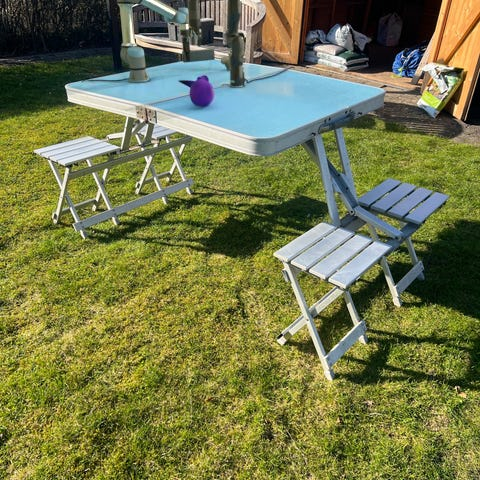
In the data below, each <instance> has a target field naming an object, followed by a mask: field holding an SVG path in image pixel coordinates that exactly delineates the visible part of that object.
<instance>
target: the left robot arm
mask: <svg viewBox="0 0 480 480" xmlns="http://www.w3.org/2000/svg"><path fill="white" fill-rule="evenodd" d="M116 3H117V5H118V7H119V12H120V13H119V14H120V23H121V25H120V26H121V33H122V43H121V45H120V46H121V50H120V59H121V60H122V61H123V62H124V63H125V64H127V65H128V66H129V76H128V78H127V77H126V78H122V79H83V80H82V83H84V82H86V81H88V82H122V81H128V82H129V83H133V84H141V83H148V82H150V75H149V74H148V71H147V67H146V59H145V52H144V51H145V50H144V49H143V48H142V47H140V46H138V44H137V43H136V41H135V29H134V28H135V27H134V16H133V6H134V5H135V4H136V5H139V6H140V5H142V6H144V7H146V8H148V9H150V10H151V11H153V12H155V13H157V14H158V15H159V14H160V15H161V16H163V20H164V22H165V23H166V24H167V23H169V24H170V23H174V24H178V25H179V33H180V34H179V35H180V36H182V37H181V45H182V51H186V52H185V53H186V60H187V62H186V63H189V62H188V61H190V54H189V53H190V51H191V45H190V38H189V28H190V26H189V18H188V7H178V10H176V9H175V8H173V7H171V6H169V5H168V4H165V3H164V2H162V1H160V0H116ZM83 81H84V82H83ZM88 130H90V128H88Z"/></svg>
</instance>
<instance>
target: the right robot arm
mask: <svg viewBox="0 0 480 480" xmlns="http://www.w3.org/2000/svg"><path fill="white" fill-rule="evenodd" d="M200 8H201V7H200V0H187V9H188V18H189V35H188V38H189V40H190V43H191V45H190V46H195V45H196V46H197V47H199V48H200V47H202V40H203V29H202V28H200V27H201V26H202V21H201V10H200ZM242 15H243V2H242V0H227V25H228V26H227V39H226V40H227V41H226V43H227V47H228V48H229V49H231V50H232V55H231V56H230V70H229V82H230V83H229V86H230V88H243V87H245V86H246V85H245V83H246V84H249V83H252V82H255V81H260V80H264V79H269V78H272V77H275V76H277V75H280V74H282V73H284V72H285V71H287V70H290V69H294V70H296V68H295V66H290V67H287V68H285V69H283V70H281V71H279V72H277V73H275V74H272V75H268V76H265V77H259V78H253V79H251V80H249V81H248V79H246V77H245V71H244V61H243V57H244V56H245V40H244V37H243V36H241V35H239V24H240V21H241V18H242ZM195 38H196V39H195ZM244 58H245V57H244Z"/></svg>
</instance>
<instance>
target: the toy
mask: <svg viewBox="0 0 480 480" xmlns="http://www.w3.org/2000/svg"><path fill="white" fill-rule="evenodd" d="M209 81H210V80H209V77H208V76H207V75H206V74H204V75H200V76H198V77H196V80H190V79H189V80H187V79H186V80H185V79H179V80H178V83H179V84H182V85H184V86H185V87H188V88H190V89H189V99H190V101H191V103H192V104H193V105H194V106H196V107H199V108H206V107H209V105H211V104H212V102H213V101H214V99H215V97H216V96H215V95H216V94H215V88H214V85H213V84H212V83H211V82H209Z"/></svg>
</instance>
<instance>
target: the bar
mask: <svg viewBox="0 0 480 480" xmlns="http://www.w3.org/2000/svg"><path fill="white" fill-rule="evenodd" d="M185 52H186V51H183V50H182V51H181V55H182V56H181V57H182V62H183V63H196V62H206V61H207V62H208V61H214V60H215V61H216V58H215V57H216V56H215V55H216V54H215V49H214V48H203V49H190V53H189V54H190V61H188V62H187V60H186V53H185Z"/></svg>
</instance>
